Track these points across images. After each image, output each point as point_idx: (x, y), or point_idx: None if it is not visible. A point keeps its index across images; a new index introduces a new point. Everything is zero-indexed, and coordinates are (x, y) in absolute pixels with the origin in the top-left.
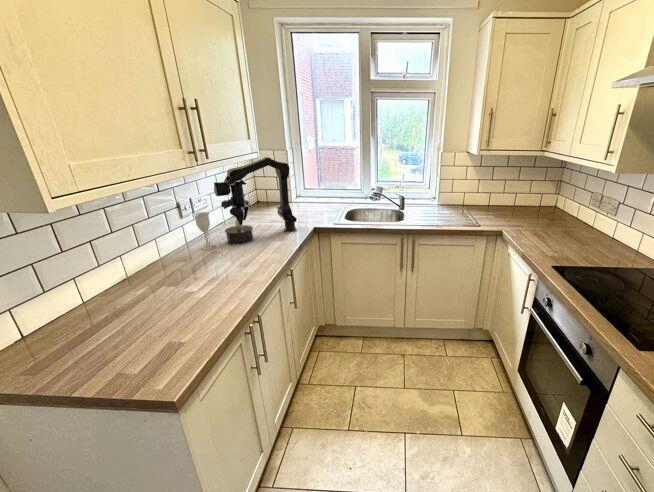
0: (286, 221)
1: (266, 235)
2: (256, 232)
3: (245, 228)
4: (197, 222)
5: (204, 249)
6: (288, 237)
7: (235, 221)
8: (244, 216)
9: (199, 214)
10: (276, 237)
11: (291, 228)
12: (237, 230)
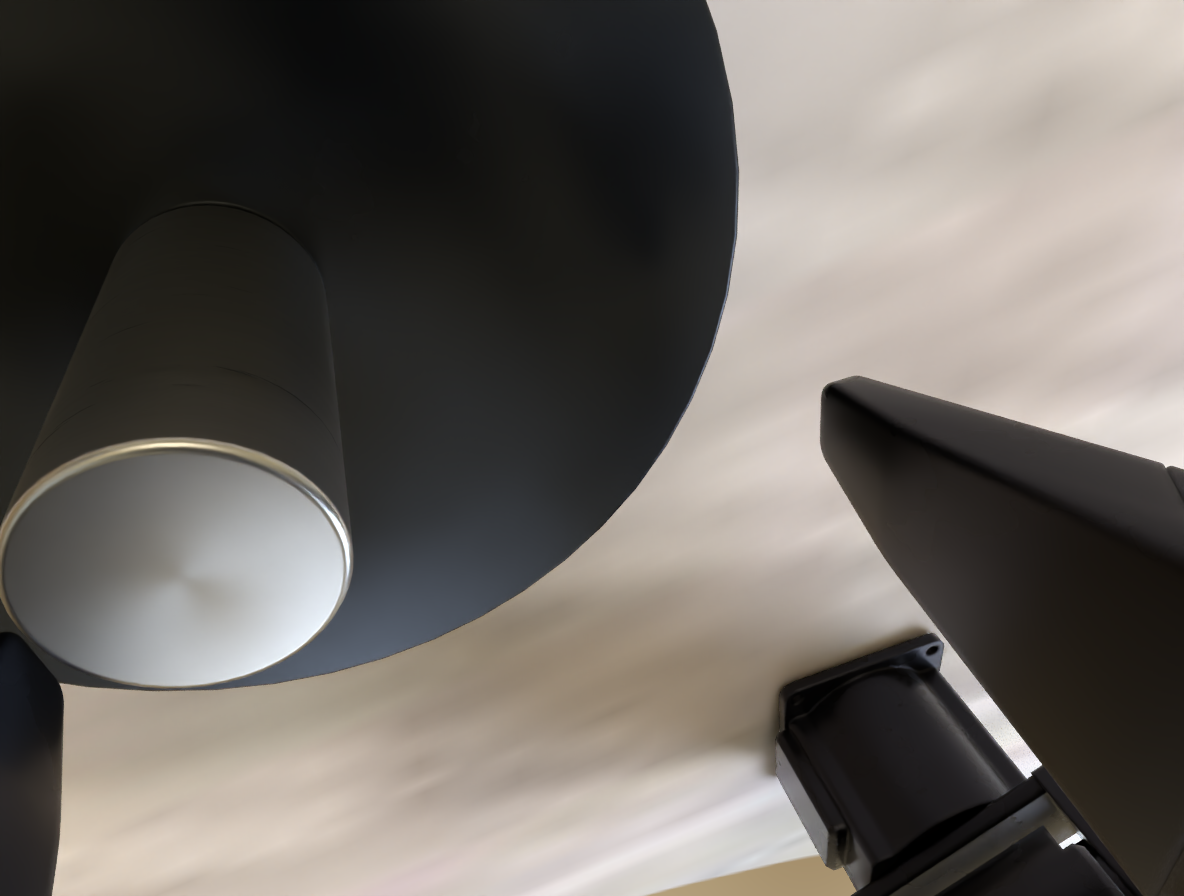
0: (908, 862)
1: (676, 510)
2: (890, 245)
3: (352, 486)
4: None
5: None
6: (566, 807)
7: (24, 481)
8: (932, 541)
9: None
10: (565, 687)
11: (798, 814)
12: (12, 330)
